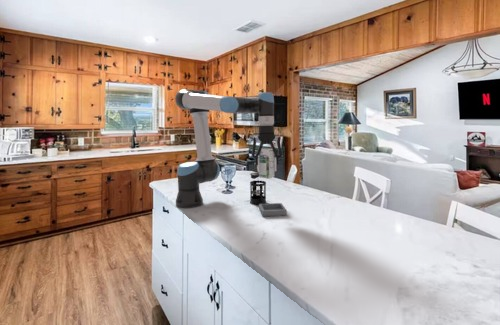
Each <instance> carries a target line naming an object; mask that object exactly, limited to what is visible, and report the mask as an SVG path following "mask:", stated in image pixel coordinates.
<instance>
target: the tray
mask: <svg viewBox="0 0 500 325" xmlns="http://www.w3.org/2000/svg"><path fill="white" fill-rule="evenodd" d="M258 210H259V212H260V214H261V217H262V218H267V217H268V218H269V217H270V218H271V217H287V216H288V215H287V212H288V211H287V209H286V207H285V206H284V205H283V203H282V202H278V203H277V202H276V203H274V202H273V203H272V202H271V203H266V204H259V205H258Z"/></svg>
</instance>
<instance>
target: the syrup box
mask: <svg viewBox="0 0 500 325" xmlns="http://www.w3.org/2000/svg"><path fill="white" fill-rule="evenodd" d="M258 158H259V161H260V172H259V177H258V179H259V178H260V179H272V178H274V177H275V171H274V158H275V155H274V151H273V149H272V148H267V147H266V148H265V147H262V149H261V151H260V154H259V156H258Z"/></svg>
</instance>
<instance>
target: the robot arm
mask: <svg viewBox="0 0 500 325" xmlns="http://www.w3.org/2000/svg"><path fill="white" fill-rule="evenodd" d="M274 96H275V95H274V93H273V92H267V91H265V92H263V91H262V92H259V93H258V94H257V97H251V98H250V97H249V98H248V97H241V96H240V97H238V96H228V95H217V94H216V95H215V94H210V92H207V91H206V90H202V89H201V90H199V89H187V88H183V89H180V90H179V91H178V92H176V95H175V97H174V100H175V101H174V102H175V104H176V106H177V107H178V108H179V109H181V110H183V111H189V115H190V116H191V117H192V122H193V129H194V138H195V139H194V140H195V146H196V147H195V148H196V155H197V158H196V159H195V160H194V161H187V162H183V163H180V164H179V165H178V166H177V171H176V174H177V187H178V188H177V190H178V192H177V195H176V198H175V206H176V207H178V208H183V209H185V208H187V209H188V208H195V207H199V206H202V205H203V204H204V200H203V197H202V193H201V191H200V184H203V183H208V182H213V181H214V180H217V179H218V177H219V176H220V173H221V168H220V165H219V162H217V161H216V158H215V157H214V156H213V155H212V154H213V153H212V145H211V136H210V127H209V118H208V117H209V114H210V113H211V112H210V111H213V112H222V113H225V114H244V115H245V114H247V115H249V114H258V125H259V126H258V135H257V136H254V137H252V148H251V158H254V165H256V168H257V172H260V161H259V154H260V151H261V149H262V148H263V146H264V145H270V147H271V148H270V149H273V151H274V172H277V165H279V158H281V157H282V156H283V153H282V146H281V138H282V137H281V136H276V134H275V126H274V125H275V98H274ZM258 140H259V146H258V148H257V147H256V146H257V142H258ZM274 140H275V141H276V146H277V147H275V145H274ZM256 148H257V151H256ZM276 148H277V150H276Z"/></svg>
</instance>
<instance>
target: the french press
mask: <svg viewBox="0 0 500 325" xmlns="http://www.w3.org/2000/svg"><path fill="white" fill-rule="evenodd" d="M249 175H250V178H251V179H253V180H252V181H250V183H249V185H250V187H249V188H250V198H249V199H250V200H249V203H250V204H251V205H254V206H259V204H267V197H266V196H267V194H266V192H267V190H266V187H267V182H266V181H264V180H257V179H258V178H259V172H258V171H257V172H251V173H250V174H249ZM258 187H259V189H258Z"/></svg>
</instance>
